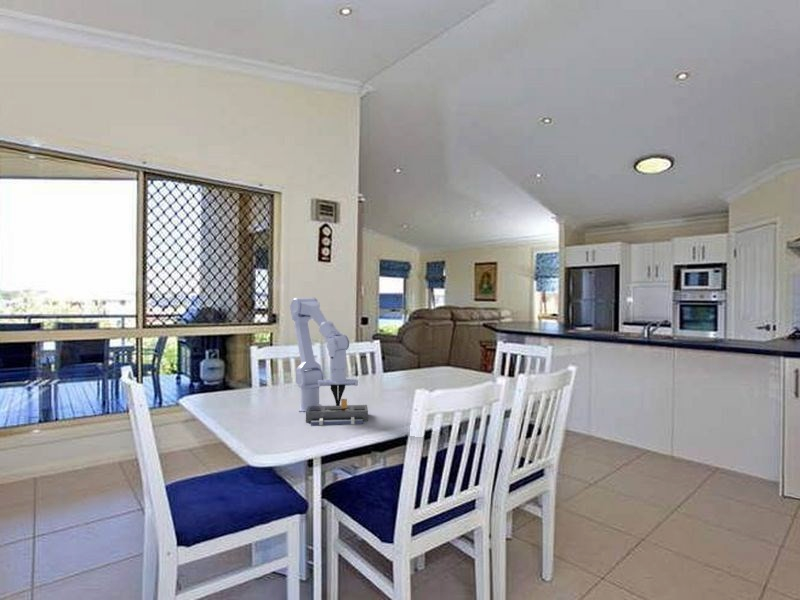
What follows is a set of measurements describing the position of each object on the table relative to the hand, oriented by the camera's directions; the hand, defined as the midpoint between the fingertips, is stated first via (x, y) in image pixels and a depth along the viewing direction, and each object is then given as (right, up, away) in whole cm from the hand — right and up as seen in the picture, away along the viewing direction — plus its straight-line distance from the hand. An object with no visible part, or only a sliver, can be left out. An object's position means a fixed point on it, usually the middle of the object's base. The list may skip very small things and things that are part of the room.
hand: (337, 405), depth 173 cm
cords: (+1, -5, -6) cm, 8 cm away
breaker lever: (+2, -1, 0) cm, 2 cm away
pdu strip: (0, -5, 0) cm, 5 cm away
